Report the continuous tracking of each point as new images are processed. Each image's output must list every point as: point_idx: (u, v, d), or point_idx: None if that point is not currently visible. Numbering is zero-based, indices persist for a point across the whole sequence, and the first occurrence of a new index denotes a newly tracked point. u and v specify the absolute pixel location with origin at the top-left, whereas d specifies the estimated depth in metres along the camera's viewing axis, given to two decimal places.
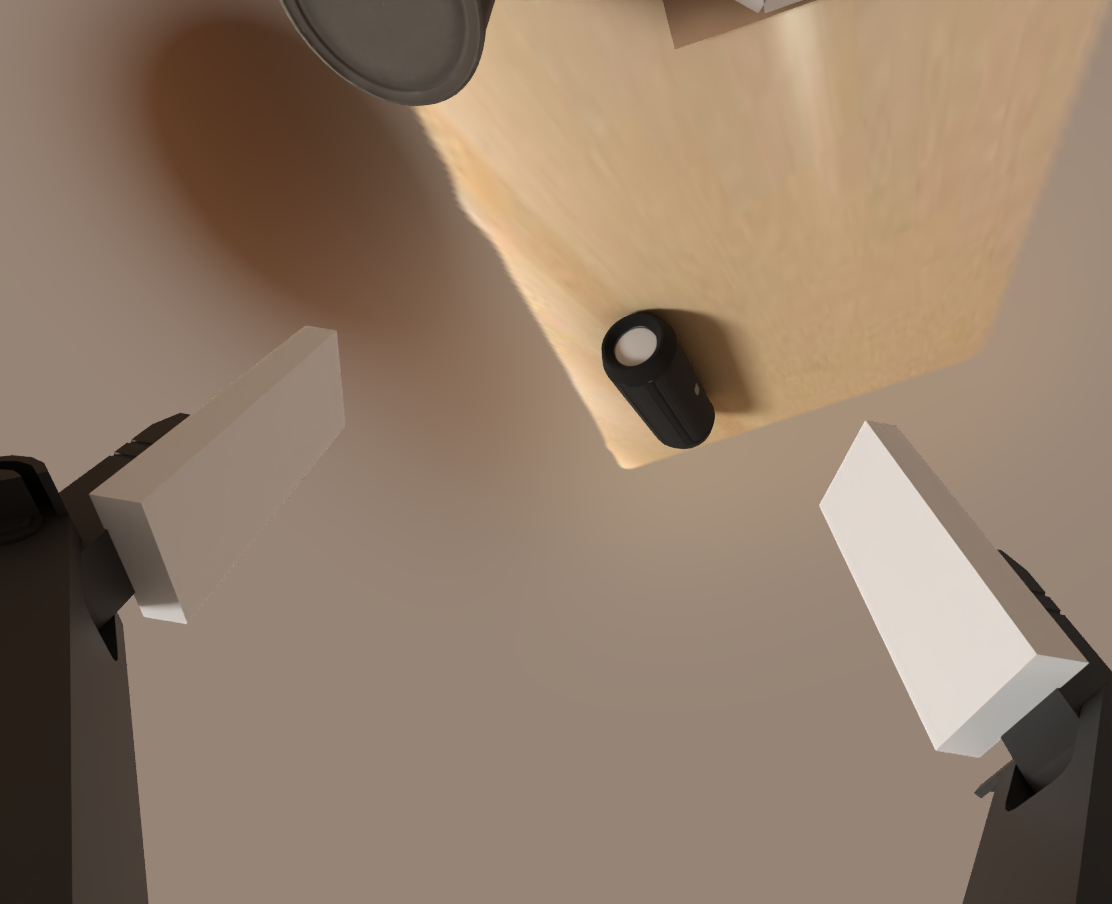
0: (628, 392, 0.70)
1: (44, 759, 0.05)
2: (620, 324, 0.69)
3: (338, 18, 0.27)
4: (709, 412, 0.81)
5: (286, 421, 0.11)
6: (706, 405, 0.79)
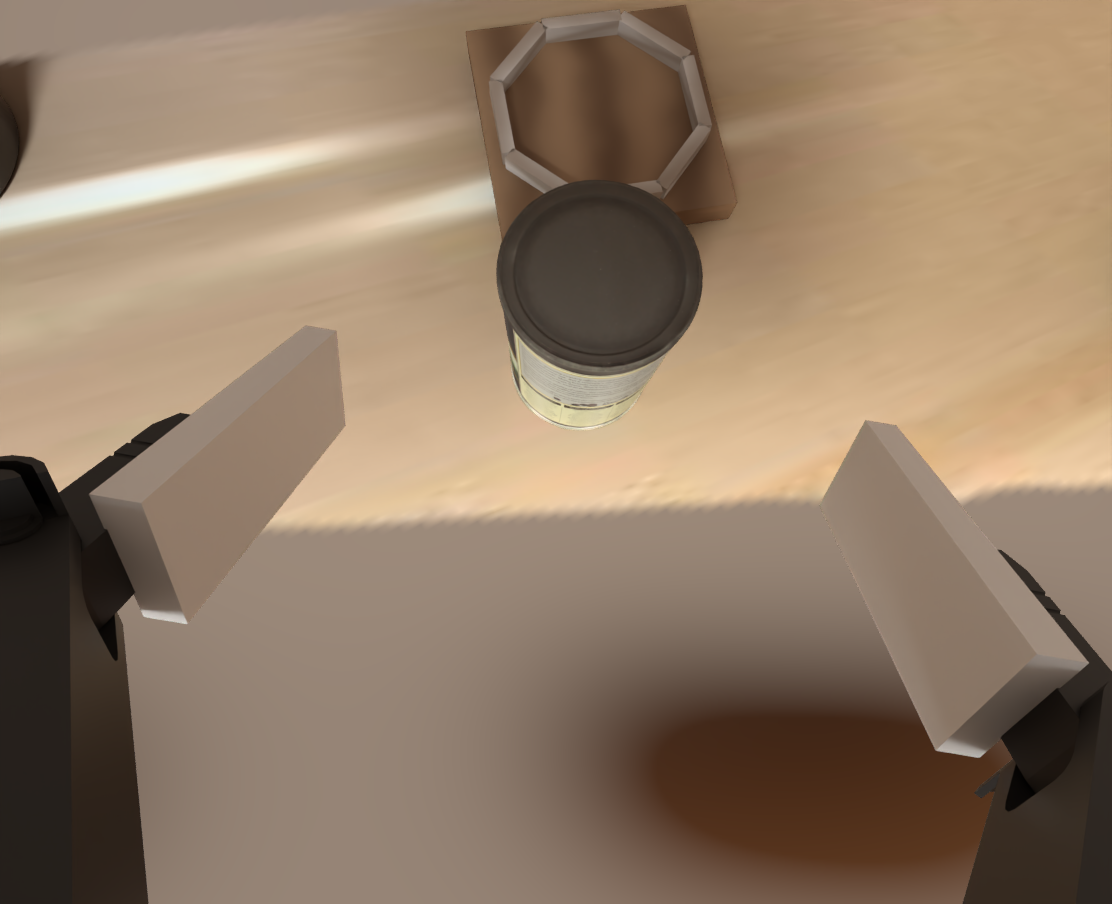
0: None
1: (44, 757, 0.05)
2: None
3: (604, 320, 0.27)
4: None
5: (286, 421, 0.11)
6: None
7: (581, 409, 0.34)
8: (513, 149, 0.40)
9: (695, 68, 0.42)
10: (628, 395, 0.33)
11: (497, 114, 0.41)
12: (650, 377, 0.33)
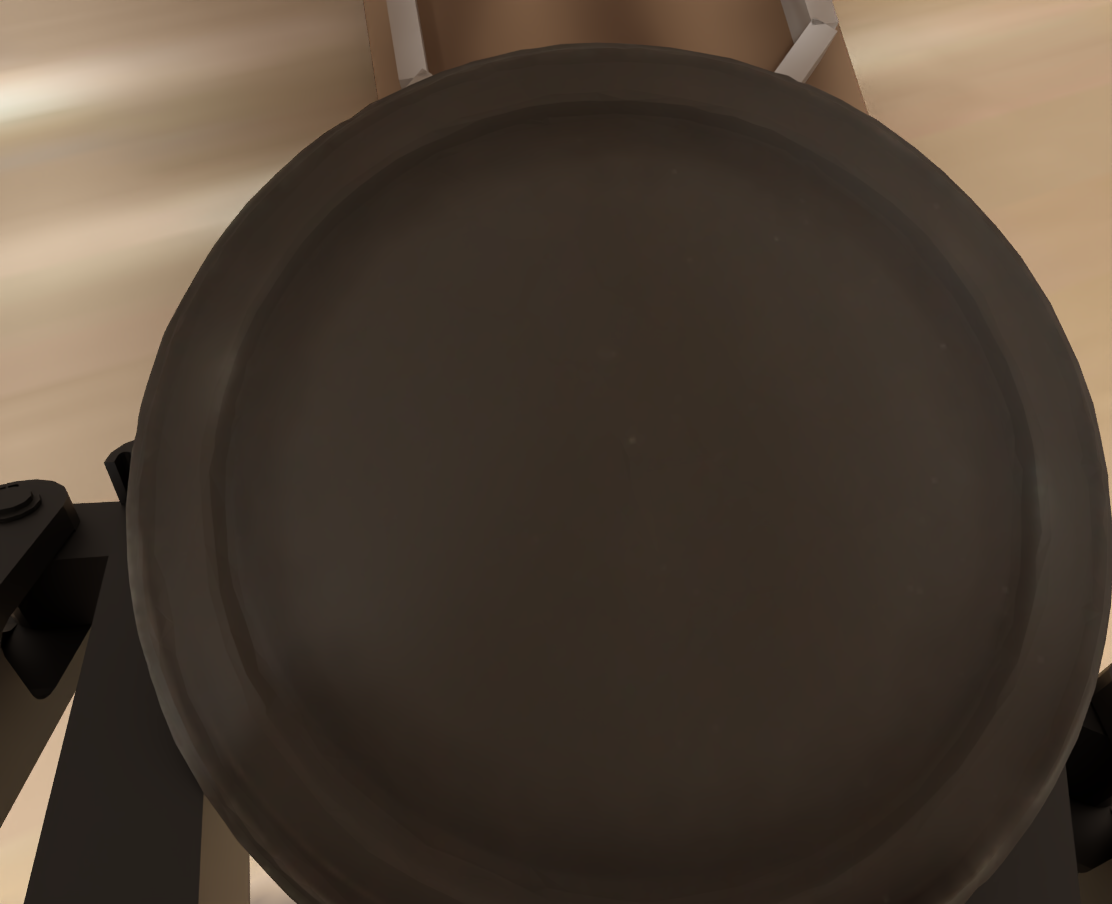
0: None
1: None
2: None
3: (657, 709, 0.05)
4: None
5: None
6: None
7: None
8: (423, 71, 0.19)
9: None
10: None
11: (391, 1, 0.19)
12: None
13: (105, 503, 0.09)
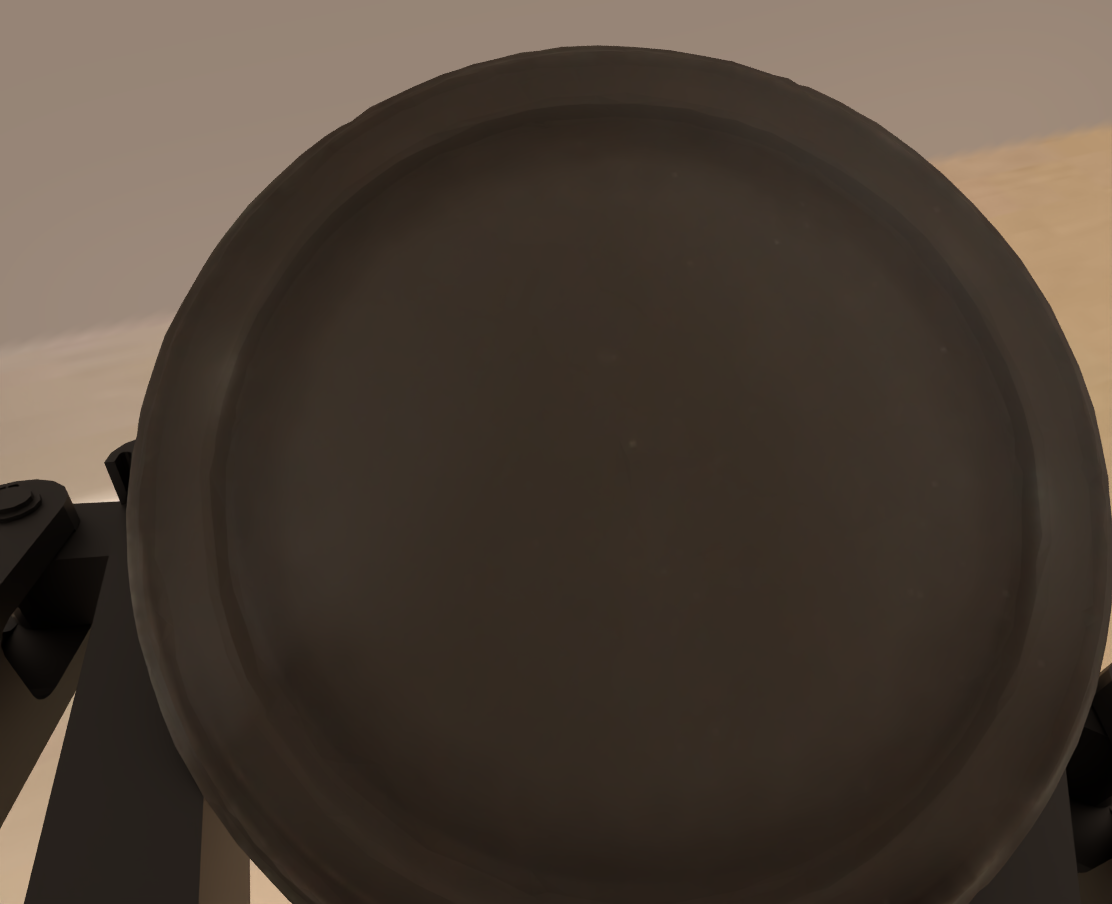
0: None
1: None
2: None
3: (657, 712, 0.05)
4: None
5: None
6: None
7: None
8: None
9: None
10: None
11: None
12: None
13: (105, 503, 0.09)
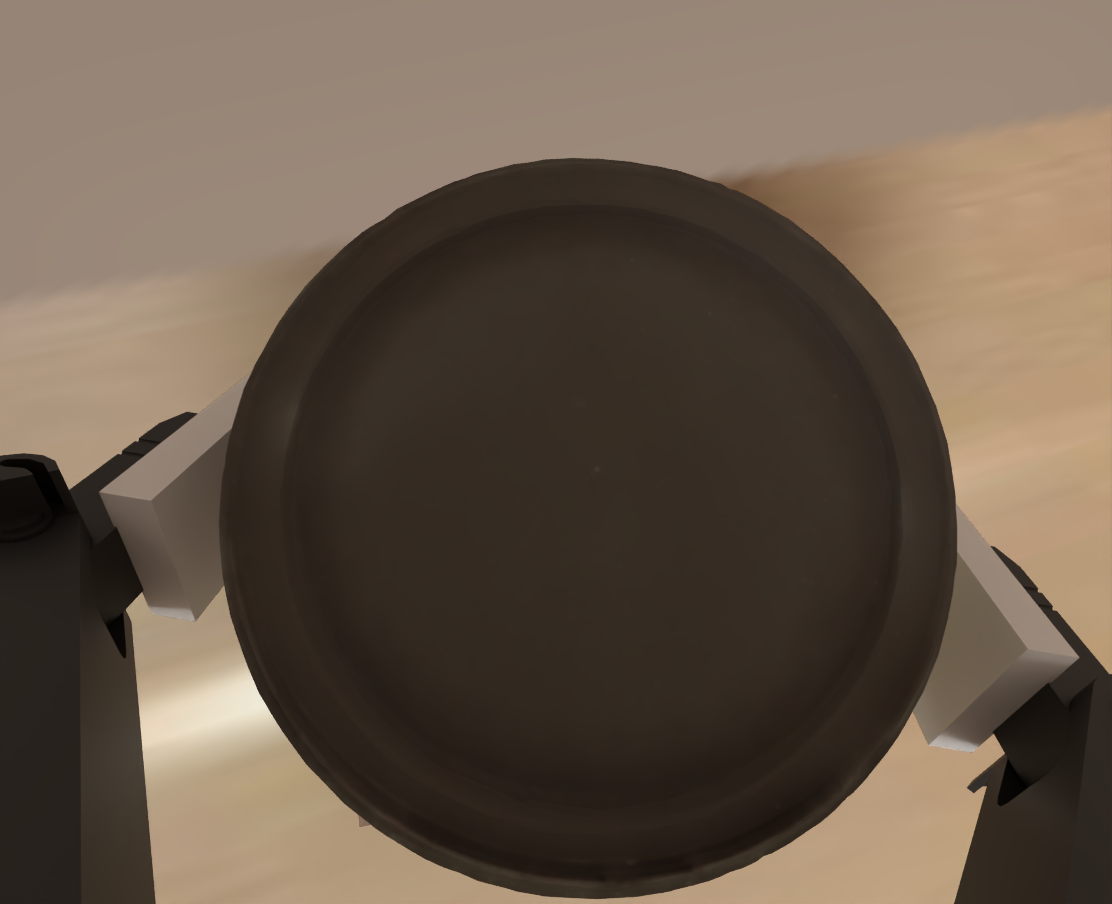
0: None
1: (55, 754, 0.05)
2: None
3: (612, 670, 0.07)
4: None
5: None
6: None
7: None
8: None
9: None
10: None
11: None
12: None
13: None
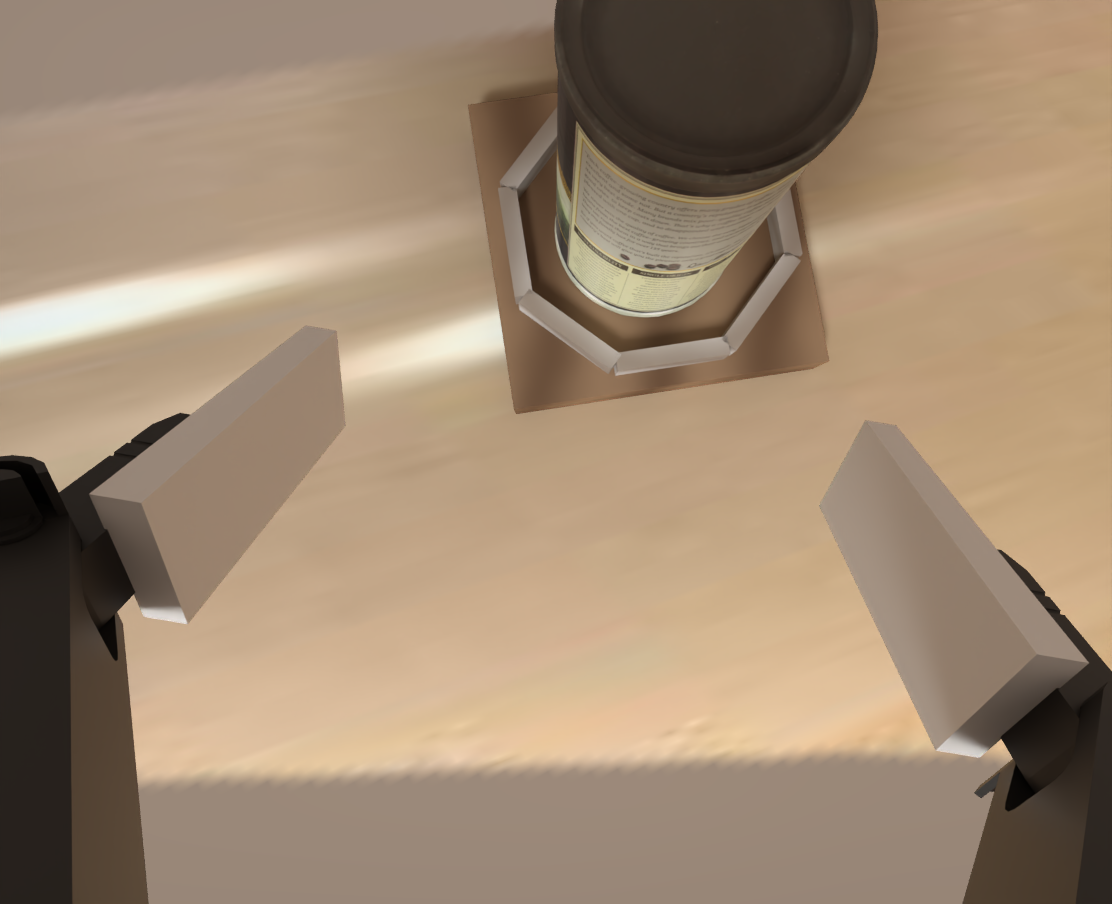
0: None
1: (46, 757, 0.05)
2: None
3: (721, 103, 0.17)
4: None
5: (286, 421, 0.11)
6: None
7: (655, 276, 0.25)
8: (530, 291, 0.30)
9: None
10: (723, 254, 0.24)
11: (509, 238, 0.30)
12: (756, 229, 0.24)
13: None
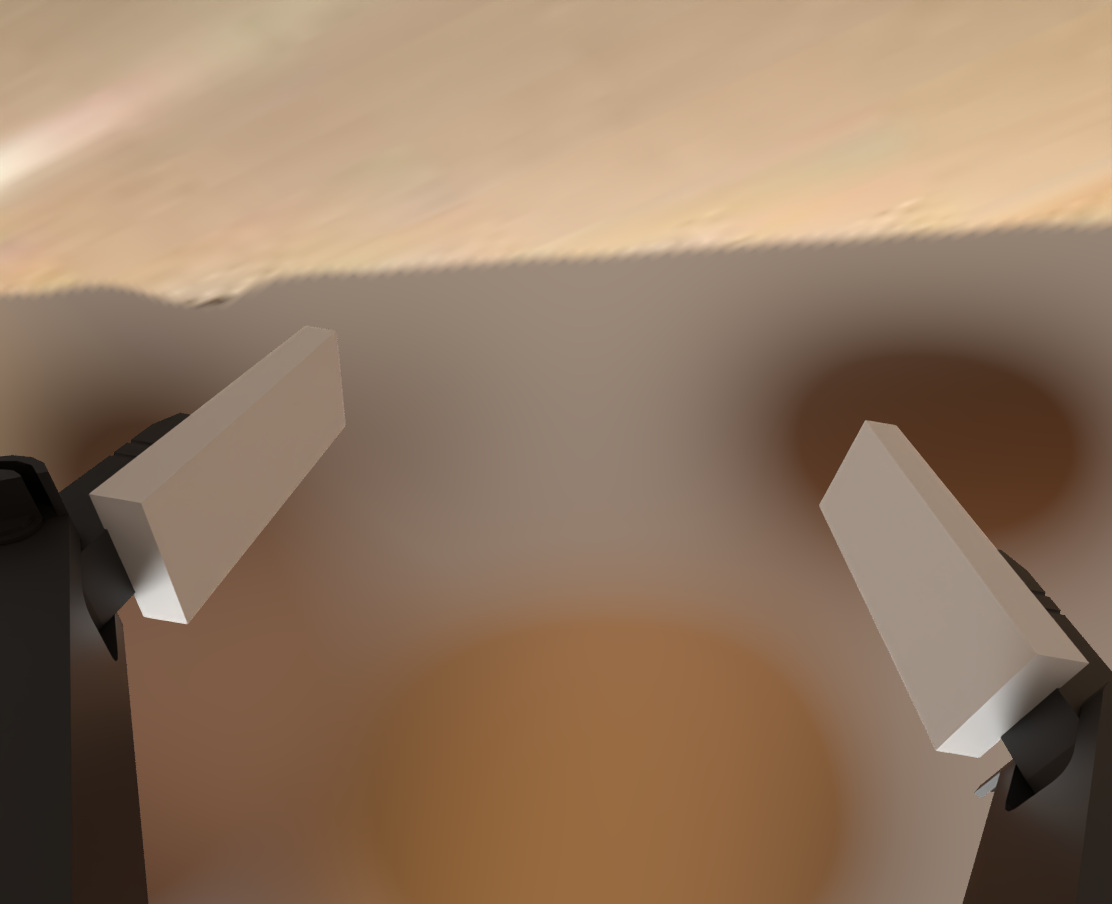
0: None
1: (44, 759, 0.05)
2: None
3: None
4: None
5: (286, 421, 0.11)
6: None
7: None
8: None
9: None
10: None
11: None
12: None
13: None
